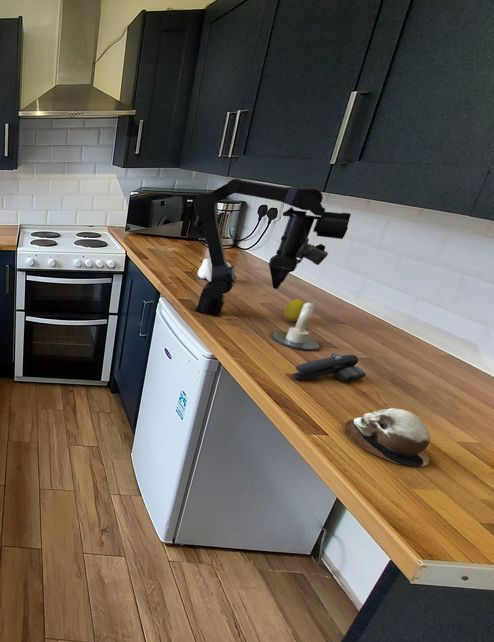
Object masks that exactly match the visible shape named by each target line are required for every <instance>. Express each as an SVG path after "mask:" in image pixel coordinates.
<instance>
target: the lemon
mask: <svg viewBox="0 0 494 642" xmlns="http://www.w3.org/2000/svg"><path fill="white" fill-rule="evenodd" d="M305 303H306V301H304V300H303V299H302V298H297V299H293V300H290V301H289V302H288V303H287V305H286V307H285V308H284V316H285V318H286V319H287V320H289V322H290V323H294V322H297V320H298V318H299V315H300V312H301V310H302V307H303V305H304V304H305Z"/></svg>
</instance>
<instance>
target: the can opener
mask: <svg viewBox="0 0 494 642" xmlns="http://www.w3.org/2000/svg"><path fill="white" fill-rule="evenodd" d="M358 363H359V358H358V357H357V356H356V355H355V354H343V355H342V354H338V353H335V352H332V353H331V354H330V357H323V358H319V359H315V360H311V361H307V362H304V363H300V364H298V365H296V367H295V370H296V371H297V372H294V373H291V377H292V378H293V379H294V380H296V381H306V380H312V379H316V378H320V377H323V376H328V375H334V377H335V378H336V379H338V380H340V381H342V382H344V383H353V382H357V381H360V380H362V379H363V378H365V377H366V375H367V373H365V372H364V371H363V370H362V369H361V368H360V367H358V366H356V365H357V364H358Z"/></svg>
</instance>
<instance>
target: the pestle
mask: <svg viewBox="0 0 494 642" xmlns="http://www.w3.org/2000/svg"><path fill="white" fill-rule="evenodd" d="M314 309H315V305H314V303H312V302H311V301H310V302H309V301H308V302H307V301H306V302H305V304H304V305H303V307H302V310H301V312H300V315H299V318H298V320H297V321H296V323H295V326H291V327H289V328H288V331H287V332H288V333H287V336H286V339H288V340H289V341H292V342H295V343H305V342H306V339H307V337H308V338H309V334H310V332H309V331H308V330H306V329H307V326H308V324H309V321H310V319H311V316H312V314H313V311H314Z"/></svg>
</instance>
